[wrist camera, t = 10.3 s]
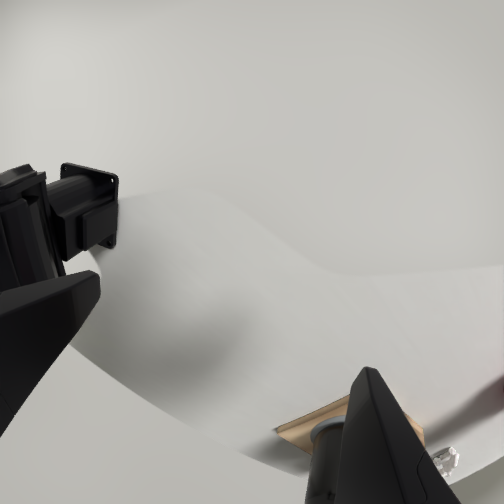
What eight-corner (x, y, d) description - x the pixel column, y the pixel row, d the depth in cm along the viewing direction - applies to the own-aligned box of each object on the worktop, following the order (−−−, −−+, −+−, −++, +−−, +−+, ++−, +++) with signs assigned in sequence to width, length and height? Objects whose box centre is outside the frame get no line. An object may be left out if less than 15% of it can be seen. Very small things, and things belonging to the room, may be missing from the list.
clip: (454, 442, 27) (458, 466, 24) (462, 444, 27) (466, 467, 23) (427, 460, 29) (428, 483, 26) (435, 462, 29) (437, 484, 26)
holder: (278, 426, 31) (265, 479, 25) (371, 383, 25) (372, 446, 19) (338, 463, 32) (332, 509, 26) (422, 428, 27) (428, 480, 20)
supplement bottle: (353, 456, 29) (344, 547, 19) (303, 441, 29) (282, 538, 19) (392, 429, 26) (392, 533, 15) (338, 411, 26) (325, 526, 16)
